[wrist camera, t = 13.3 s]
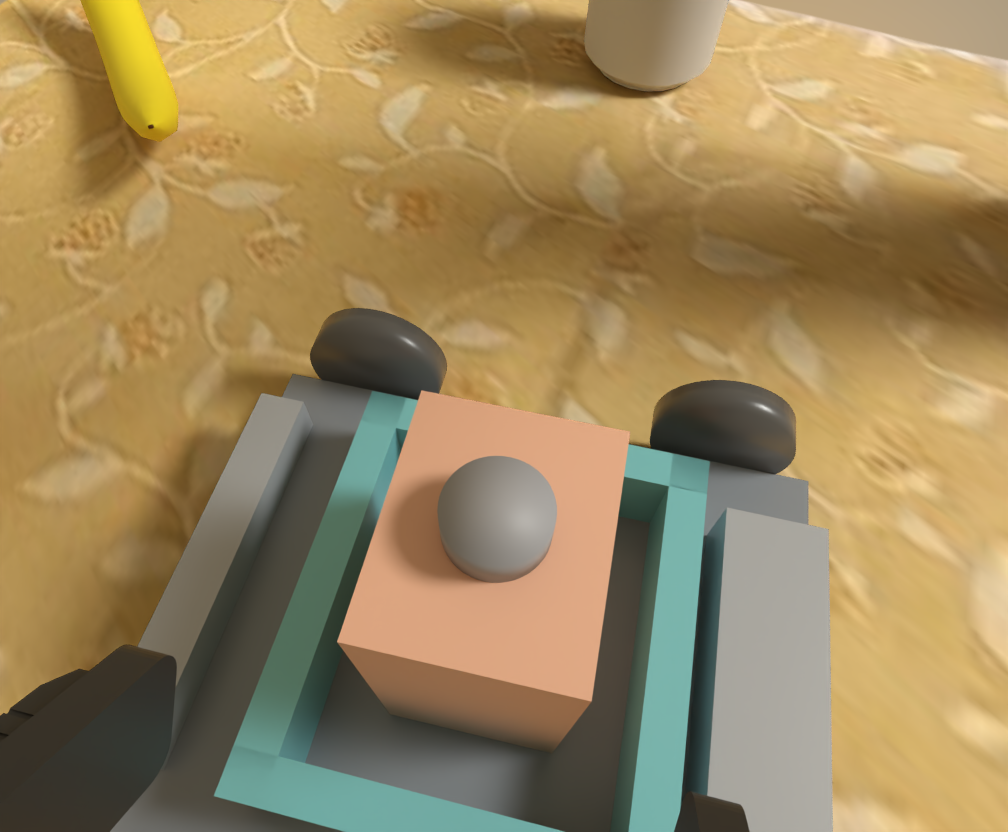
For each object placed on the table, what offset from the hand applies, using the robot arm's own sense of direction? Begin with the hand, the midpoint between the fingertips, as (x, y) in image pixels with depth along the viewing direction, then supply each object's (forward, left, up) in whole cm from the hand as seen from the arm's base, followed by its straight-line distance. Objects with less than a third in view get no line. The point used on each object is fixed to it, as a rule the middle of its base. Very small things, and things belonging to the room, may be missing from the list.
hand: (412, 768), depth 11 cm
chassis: (-5, 0, -13) cm, 13 cm away
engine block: (-5, 0, -11) cm, 12 cm away
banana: (-29, -25, -13) cm, 40 cm away
